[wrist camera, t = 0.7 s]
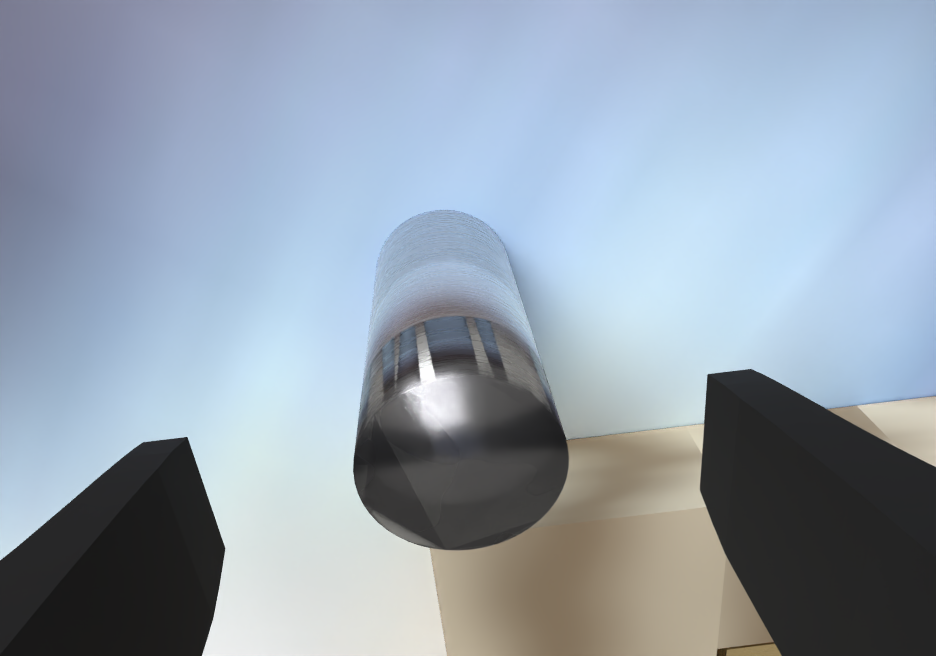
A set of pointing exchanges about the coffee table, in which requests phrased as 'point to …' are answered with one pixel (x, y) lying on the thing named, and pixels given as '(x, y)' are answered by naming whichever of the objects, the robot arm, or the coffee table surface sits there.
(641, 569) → the socket block
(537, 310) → the coffee table surface
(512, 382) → the metal cylinder
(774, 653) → the tan flat square block
